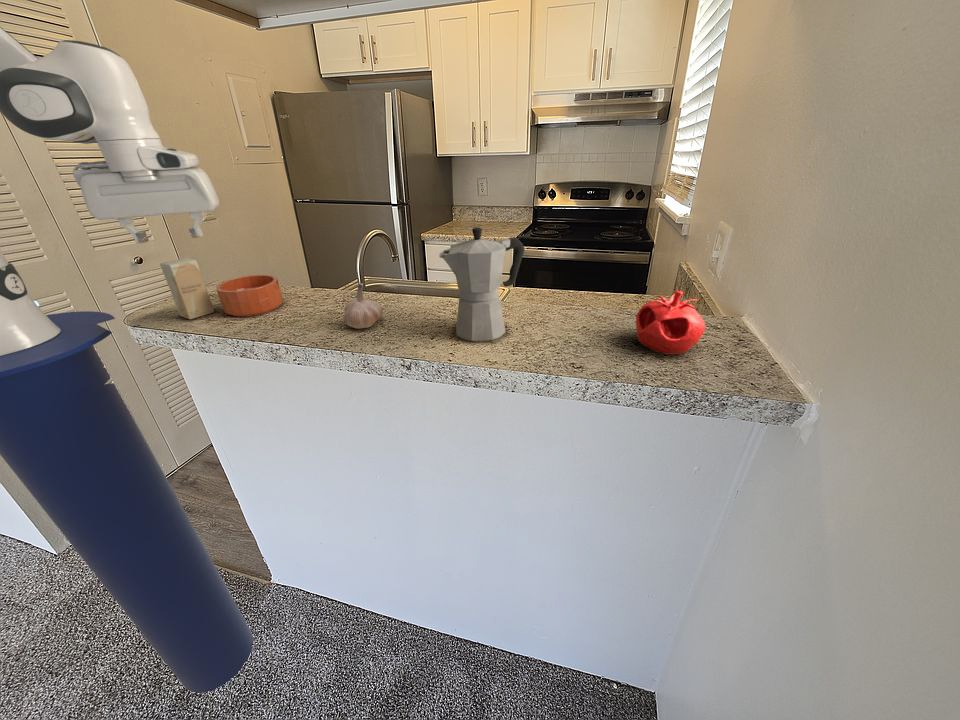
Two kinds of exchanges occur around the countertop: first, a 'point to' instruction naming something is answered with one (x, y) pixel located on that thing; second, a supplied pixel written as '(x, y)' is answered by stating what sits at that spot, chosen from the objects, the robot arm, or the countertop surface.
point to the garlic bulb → (362, 311)
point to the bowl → (250, 295)
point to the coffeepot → (481, 284)
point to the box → (187, 287)
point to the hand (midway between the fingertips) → (170, 239)
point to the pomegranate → (669, 325)
